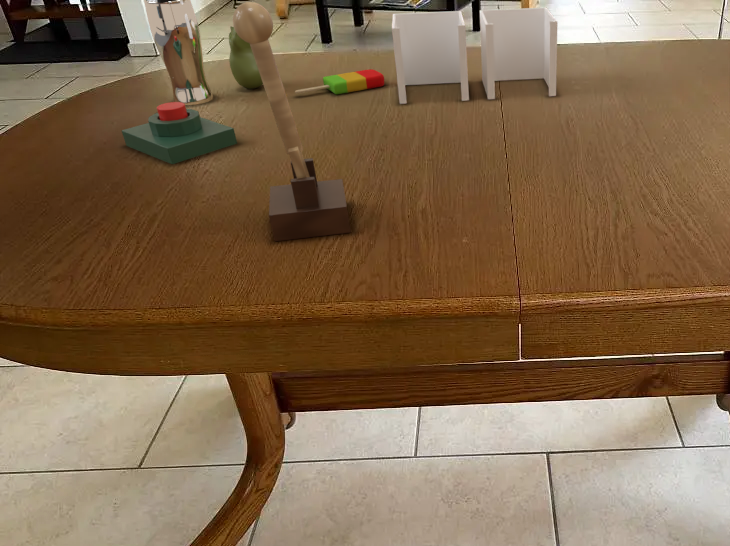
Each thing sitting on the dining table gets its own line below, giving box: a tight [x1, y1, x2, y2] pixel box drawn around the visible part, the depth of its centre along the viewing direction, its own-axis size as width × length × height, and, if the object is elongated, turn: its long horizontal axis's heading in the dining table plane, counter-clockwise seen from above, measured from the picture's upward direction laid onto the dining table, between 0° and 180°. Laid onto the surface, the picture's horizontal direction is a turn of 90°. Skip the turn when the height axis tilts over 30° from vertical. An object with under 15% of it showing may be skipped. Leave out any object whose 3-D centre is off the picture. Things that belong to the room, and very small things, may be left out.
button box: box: [121, 108, 238, 165], centre depth 102 cm, size 12×10×4 cm
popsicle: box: [294, 68, 385, 95], centre depth 123 cm, size 6×15×2 cm, turn 122°
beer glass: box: [143, 0, 214, 106], centre depth 116 cm, size 7×7×15 cm
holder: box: [268, 157, 352, 242], centre depth 81 cm, size 8×8×6 cm
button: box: [156, 101, 188, 121], centre depth 101 cm, size 4×4×2 cm
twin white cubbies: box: [391, 7, 558, 105], centre depth 119 cm, size 25×11×11 cm, turn 96°
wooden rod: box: [232, 1, 310, 178], centre depth 74 cm, size 18×4×4 cm
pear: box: [228, 25, 264, 90], centre depth 123 cm, size 6×5×10 cm
